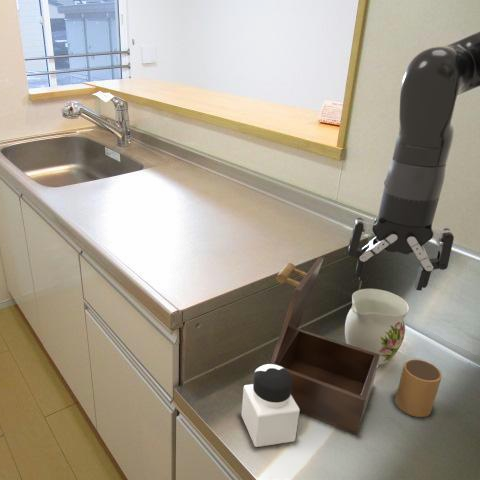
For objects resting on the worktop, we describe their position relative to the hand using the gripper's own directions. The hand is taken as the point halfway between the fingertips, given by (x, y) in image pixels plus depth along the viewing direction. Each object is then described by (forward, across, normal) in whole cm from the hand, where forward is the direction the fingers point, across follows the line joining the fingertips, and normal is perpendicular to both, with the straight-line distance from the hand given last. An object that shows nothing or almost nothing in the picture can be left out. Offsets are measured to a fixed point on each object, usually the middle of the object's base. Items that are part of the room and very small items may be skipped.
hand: (389, 283), depth 75 cm
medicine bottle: (+24, -16, -14) cm, 32 cm away
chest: (+24, -7, -3) cm, 25 cm away
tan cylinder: (+24, +8, 0) cm, 25 cm away
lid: (+8, -13, -1) cm, 16 cm away
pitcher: (+24, +2, +13) cm, 27 cm away
